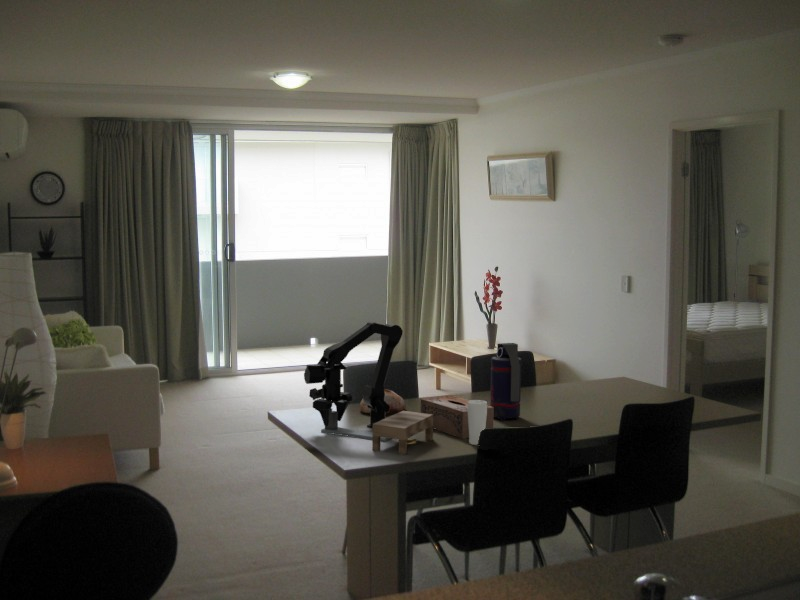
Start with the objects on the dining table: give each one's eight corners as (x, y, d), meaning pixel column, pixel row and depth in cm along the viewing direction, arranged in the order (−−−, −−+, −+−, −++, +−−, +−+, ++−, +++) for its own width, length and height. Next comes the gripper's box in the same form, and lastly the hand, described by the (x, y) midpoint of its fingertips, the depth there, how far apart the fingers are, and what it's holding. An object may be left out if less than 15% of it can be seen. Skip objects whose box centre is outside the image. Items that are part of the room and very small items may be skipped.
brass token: (403, 440, 296) (404, 436, 296) (419, 442, 294) (419, 439, 294) (396, 444, 291) (396, 440, 291) (411, 446, 288) (411, 443, 288)
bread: (351, 412, 341) (350, 388, 341) (389, 406, 353) (388, 383, 353) (375, 418, 328) (374, 393, 328) (413, 411, 340) (413, 387, 340)
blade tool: (329, 429, 310) (329, 409, 309) (393, 438, 298) (393, 417, 298) (321, 433, 305) (321, 412, 304) (385, 442, 293) (385, 420, 292)
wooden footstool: (402, 435, 302) (403, 410, 301) (432, 439, 297) (433, 414, 296) (372, 450, 282) (372, 424, 281) (404, 454, 276) (404, 428, 275)
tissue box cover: (420, 424, 320) (420, 398, 319) (449, 419, 328) (450, 394, 327) (462, 439, 299) (463, 411, 298) (493, 433, 307) (493, 407, 306)
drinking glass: (469, 440, 296) (470, 399, 294) (487, 442, 294) (488, 400, 292) (465, 445, 289) (466, 403, 288) (484, 447, 287) (485, 404, 286)
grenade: (484, 415, 335) (486, 341, 332) (510, 413, 339) (512, 340, 336) (501, 423, 322) (503, 346, 319) (528, 420, 326) (530, 345, 324)
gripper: (327, 375, 316) (327, 415, 318) (300, 383, 300) (300, 426, 301) (352, 378, 311) (352, 419, 313) (326, 386, 295) (326, 430, 296)
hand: (332, 423), depth 306 cm, fingers open, 9 cm apart
